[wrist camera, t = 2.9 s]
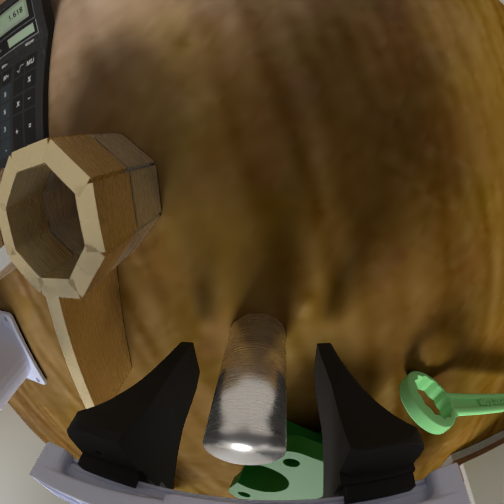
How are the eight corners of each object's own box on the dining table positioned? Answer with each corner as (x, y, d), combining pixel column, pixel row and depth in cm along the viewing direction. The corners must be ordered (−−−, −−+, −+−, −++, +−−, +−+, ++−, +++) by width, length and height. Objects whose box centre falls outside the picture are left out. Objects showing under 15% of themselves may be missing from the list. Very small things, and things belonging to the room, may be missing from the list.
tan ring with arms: (42, 348, 18) (10, 385, 13) (-11, 175, 13) (-63, 194, 8) (194, 375, 17) (173, 439, 12) (152, 126, 11) (86, 124, 7)
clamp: (296, 375, 21) (298, 425, 13) (353, 401, 20) (378, 455, 12) (234, 464, 21) (212, 523, 13) (285, 485, 20) (280, 545, 12)
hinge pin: (232, 355, 16) (210, 461, 9) (226, 312, 15) (195, 425, 8) (285, 355, 15) (285, 465, 9) (286, 312, 14) (287, 430, 8)
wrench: (541, 376, 16) (560, 404, 11) (531, 388, 17) (549, 417, 12) (396, 360, 15) (422, 425, 10) (381, 381, 16) (400, 445, 11)
